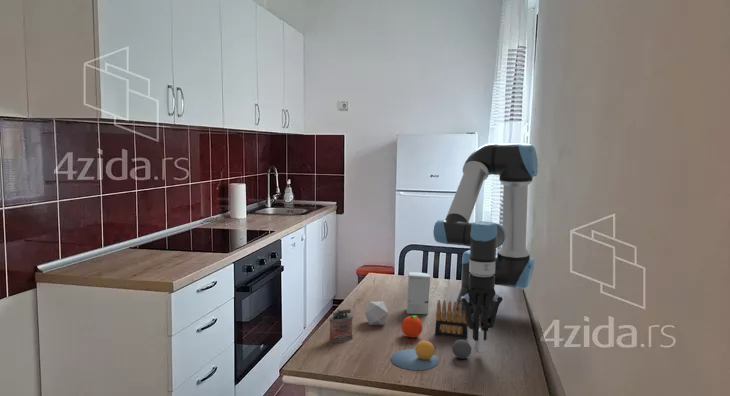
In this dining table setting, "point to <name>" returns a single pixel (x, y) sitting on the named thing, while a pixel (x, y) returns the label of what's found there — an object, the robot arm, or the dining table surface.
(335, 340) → the lighter
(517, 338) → the dining table surface
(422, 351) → the orange ball
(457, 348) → the dark grey sphere
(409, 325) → the clementine
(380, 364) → the dining table surface
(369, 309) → the die
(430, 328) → the dining table surface
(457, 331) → the ammunition clip
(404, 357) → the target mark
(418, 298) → the skincare box
